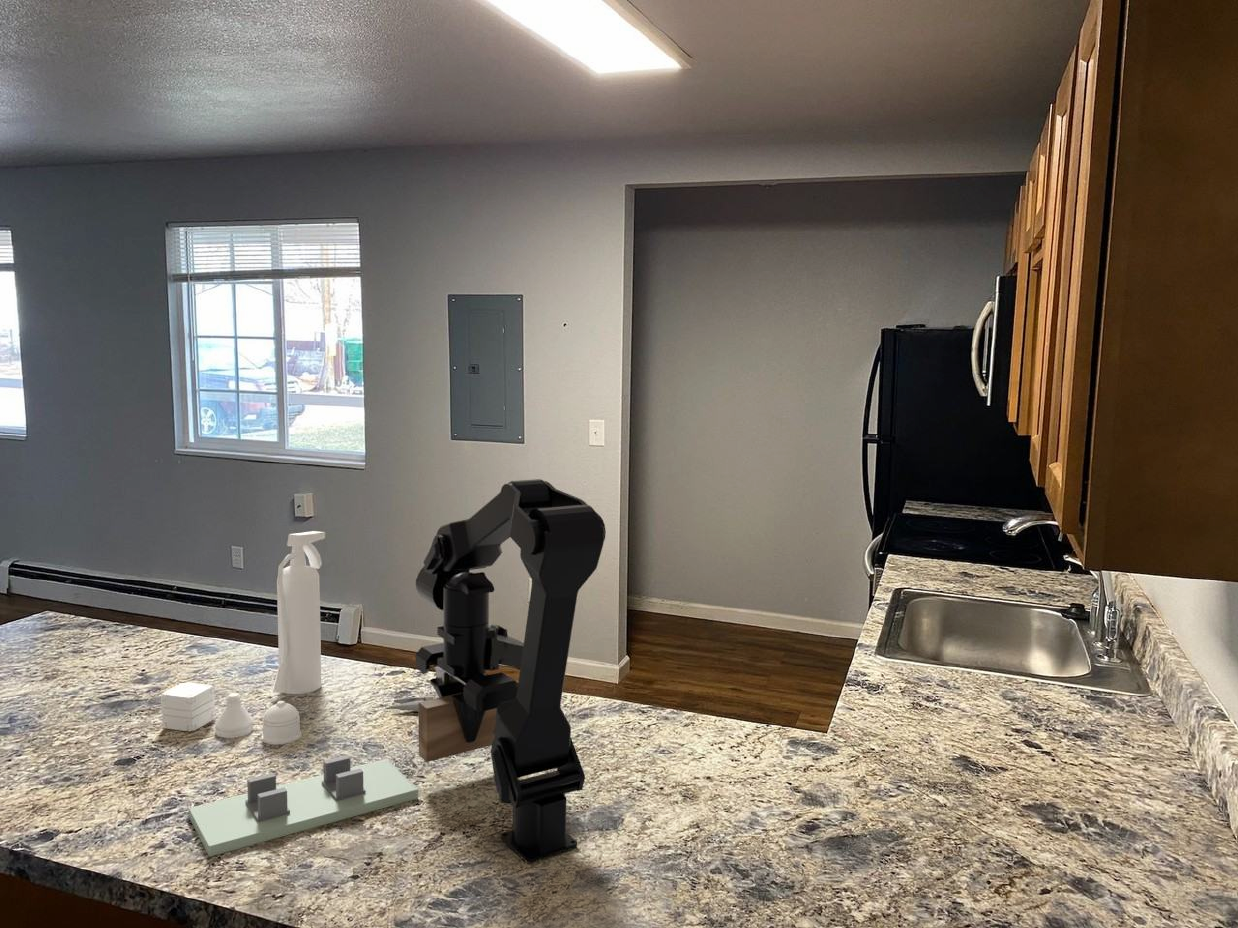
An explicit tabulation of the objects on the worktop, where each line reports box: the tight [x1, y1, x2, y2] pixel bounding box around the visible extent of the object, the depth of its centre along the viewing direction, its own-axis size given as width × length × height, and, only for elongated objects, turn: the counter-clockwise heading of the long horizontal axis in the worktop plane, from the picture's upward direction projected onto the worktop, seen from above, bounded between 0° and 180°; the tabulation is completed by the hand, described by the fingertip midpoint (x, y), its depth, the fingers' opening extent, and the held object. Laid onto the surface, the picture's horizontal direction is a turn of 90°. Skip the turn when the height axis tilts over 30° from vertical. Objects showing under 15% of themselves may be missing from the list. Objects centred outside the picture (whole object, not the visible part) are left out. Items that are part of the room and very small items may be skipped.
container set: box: [160, 682, 302, 746], centre depth 134 cm, size 20×5×6 cm, turn 77°
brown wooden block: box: [418, 693, 497, 763], centre depth 122 cm, size 2×12×7 cm, turn 126°
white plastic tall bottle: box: [271, 530, 326, 695], centre depth 149 cm, size 7×12×25 cm, turn 162°
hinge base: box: [188, 754, 419, 858], centre depth 113 cm, size 10×24×4 cm, turn 126°
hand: (465, 737), depth 123 cm, fingers closed on brown wooden block, 2 cm apart
